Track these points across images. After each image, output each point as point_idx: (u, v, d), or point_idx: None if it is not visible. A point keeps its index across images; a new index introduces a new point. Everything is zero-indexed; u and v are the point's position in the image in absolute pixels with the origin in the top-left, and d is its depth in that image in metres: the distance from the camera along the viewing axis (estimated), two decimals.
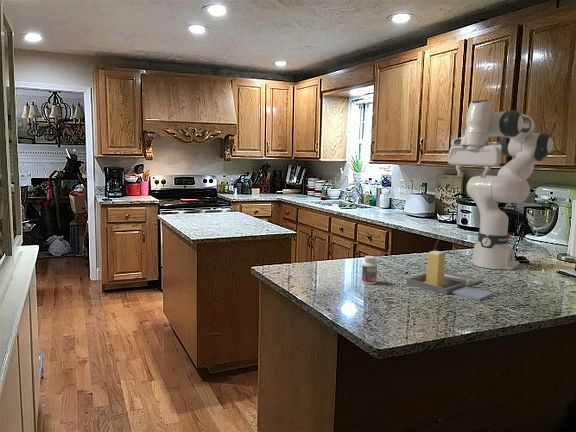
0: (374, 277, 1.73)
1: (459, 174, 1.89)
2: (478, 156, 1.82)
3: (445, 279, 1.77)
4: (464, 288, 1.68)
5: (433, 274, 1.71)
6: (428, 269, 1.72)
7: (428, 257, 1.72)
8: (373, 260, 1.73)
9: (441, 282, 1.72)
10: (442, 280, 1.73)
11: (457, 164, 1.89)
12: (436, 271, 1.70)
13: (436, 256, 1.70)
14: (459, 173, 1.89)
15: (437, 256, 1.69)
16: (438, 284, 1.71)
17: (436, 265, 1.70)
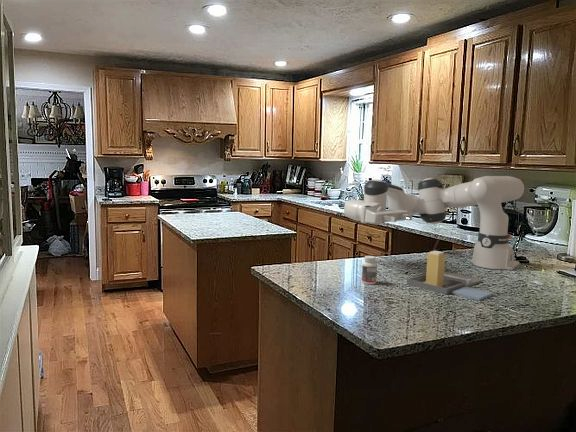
0: (374, 277, 1.73)
1: (394, 217, 1.80)
2: (391, 211, 1.90)
3: (445, 279, 1.77)
4: (464, 288, 1.68)
5: (433, 274, 1.71)
6: (428, 269, 1.72)
7: (428, 257, 1.72)
8: (373, 260, 1.73)
9: (441, 282, 1.72)
10: (442, 280, 1.73)
11: (384, 214, 1.82)
12: (436, 271, 1.70)
13: (436, 256, 1.70)
14: (393, 217, 1.80)
15: (437, 256, 1.69)
16: (438, 284, 1.71)
17: (436, 265, 1.70)
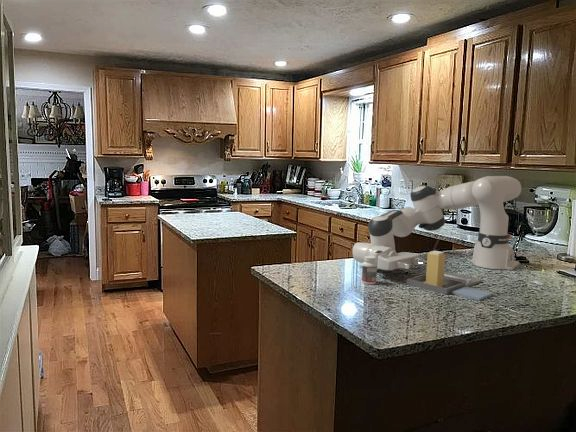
0: (374, 277, 1.73)
1: (408, 263, 1.75)
2: (403, 255, 1.85)
3: (445, 279, 1.77)
4: (464, 288, 1.68)
5: (433, 274, 1.71)
6: (428, 269, 1.72)
7: (428, 257, 1.72)
8: (373, 260, 1.73)
9: (441, 282, 1.72)
10: (442, 280, 1.73)
11: (397, 260, 1.77)
12: (436, 271, 1.70)
13: (436, 256, 1.70)
14: (407, 263, 1.76)
15: (437, 256, 1.69)
16: (438, 284, 1.71)
17: (436, 265, 1.70)
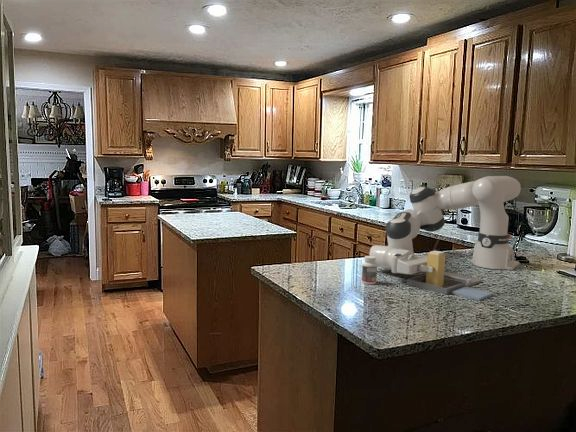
0: (374, 277, 1.73)
1: (431, 266, 1.71)
2: (422, 258, 1.79)
3: (445, 279, 1.77)
4: (464, 288, 1.68)
5: (433, 274, 1.71)
6: None
7: (428, 257, 1.72)
8: (373, 260, 1.73)
9: (441, 282, 1.72)
10: (442, 280, 1.73)
11: (417, 264, 1.71)
12: (436, 271, 1.70)
13: (436, 256, 1.70)
14: (430, 266, 1.71)
15: (437, 256, 1.69)
16: (438, 284, 1.71)
17: (436, 265, 1.70)
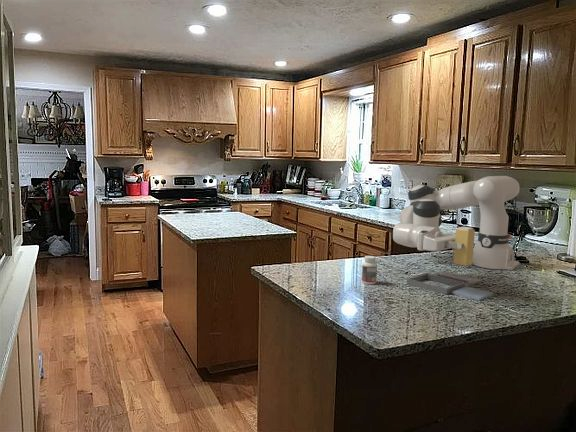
0: (374, 277, 1.73)
1: (460, 243, 1.62)
2: (450, 235, 1.71)
3: (445, 279, 1.77)
4: (464, 288, 1.68)
5: (462, 251, 1.62)
6: None
7: (456, 233, 1.63)
8: (373, 260, 1.73)
9: (470, 259, 1.63)
10: (471, 257, 1.64)
11: (445, 240, 1.63)
12: (465, 248, 1.61)
13: (465, 232, 1.61)
14: (459, 243, 1.62)
15: (466, 232, 1.60)
16: (467, 261, 1.62)
17: (465, 241, 1.61)
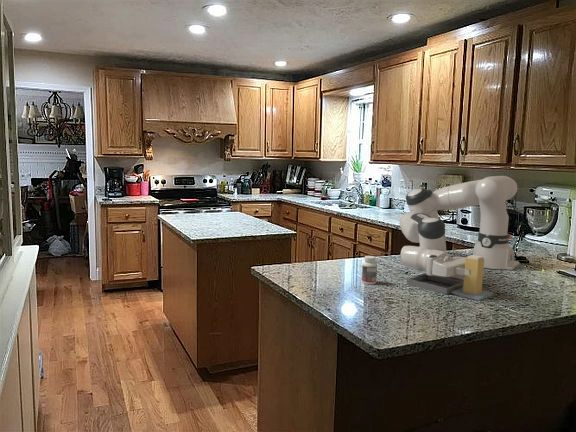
0: (374, 277, 1.73)
1: (468, 269, 1.60)
2: (459, 260, 1.70)
3: (445, 279, 1.77)
4: None
5: (471, 280, 1.61)
6: None
7: (466, 262, 1.62)
8: (373, 260, 1.73)
9: (480, 288, 1.63)
10: (481, 286, 1.63)
11: (455, 266, 1.62)
12: (475, 277, 1.60)
13: (475, 261, 1.60)
14: (467, 269, 1.60)
15: (476, 261, 1.60)
16: (477, 290, 1.61)
17: (475, 270, 1.60)
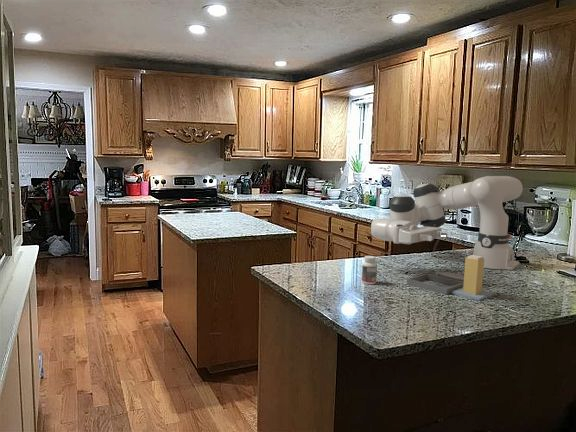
0: (374, 277, 1.73)
1: (430, 235, 1.69)
2: (424, 228, 1.79)
3: (445, 279, 1.77)
4: None
5: (471, 280, 1.61)
6: (466, 274, 1.63)
7: (466, 262, 1.62)
8: (373, 260, 1.73)
9: (480, 288, 1.63)
10: (481, 286, 1.63)
11: (419, 233, 1.71)
12: (475, 277, 1.60)
13: (475, 261, 1.60)
14: (429, 235, 1.69)
15: (476, 261, 1.60)
16: (477, 290, 1.61)
17: (475, 270, 1.60)
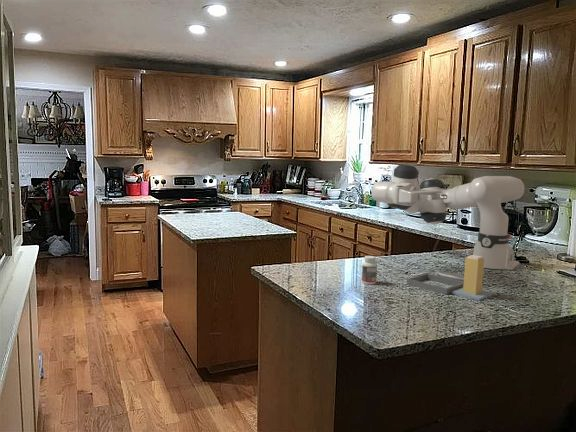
0: (374, 277, 1.73)
1: (430, 195, 1.71)
2: (424, 190, 1.81)
3: (445, 279, 1.77)
4: None
5: (471, 280, 1.61)
6: (466, 274, 1.63)
7: (466, 262, 1.62)
8: (373, 260, 1.73)
9: (480, 288, 1.63)
10: (481, 286, 1.63)
11: (419, 193, 1.73)
12: (475, 277, 1.60)
13: (475, 261, 1.60)
14: (429, 195, 1.71)
15: (476, 261, 1.60)
16: (477, 290, 1.61)
17: (475, 270, 1.60)
